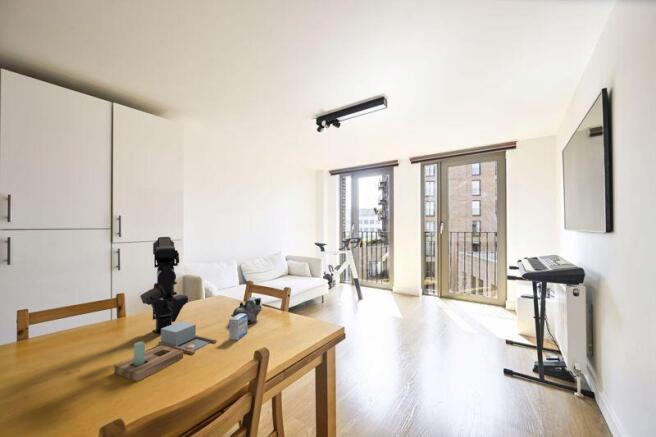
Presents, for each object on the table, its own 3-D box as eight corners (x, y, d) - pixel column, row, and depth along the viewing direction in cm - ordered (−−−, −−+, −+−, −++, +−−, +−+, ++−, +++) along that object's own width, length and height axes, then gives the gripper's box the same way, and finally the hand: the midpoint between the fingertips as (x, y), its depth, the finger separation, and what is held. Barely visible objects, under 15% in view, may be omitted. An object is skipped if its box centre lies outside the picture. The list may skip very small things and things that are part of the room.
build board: (114, 372, 90) (114, 365, 90) (161, 351, 105) (161, 345, 105) (137, 381, 85) (137, 373, 85) (183, 358, 100) (183, 351, 100)
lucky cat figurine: (236, 316, 144) (248, 291, 148) (256, 325, 142) (268, 300, 146) (226, 317, 129) (240, 289, 133) (248, 328, 128) (262, 300, 132)
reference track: (157, 344, 110) (157, 342, 110) (182, 334, 121) (182, 331, 121) (193, 354, 102) (193, 351, 102) (216, 342, 113) (216, 339, 113)
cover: (161, 342, 111) (161, 328, 112) (180, 333, 120) (180, 321, 120) (176, 346, 108) (176, 332, 108) (195, 337, 116) (195, 324, 116)
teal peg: (131, 371, 91) (131, 344, 91) (141, 367, 93) (141, 340, 93) (137, 373, 89) (137, 346, 89) (146, 369, 92) (146, 342, 92)
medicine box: (238, 340, 114) (238, 319, 114) (228, 339, 115) (228, 319, 115) (247, 333, 122) (247, 313, 122) (238, 332, 123) (238, 312, 123)
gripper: (129, 281, 103) (128, 322, 103) (160, 287, 95) (160, 332, 95) (158, 275, 113) (158, 313, 113) (189, 280, 105) (189, 321, 105)
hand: (165, 319), depth 107 cm, fingers open, 9 cm apart
